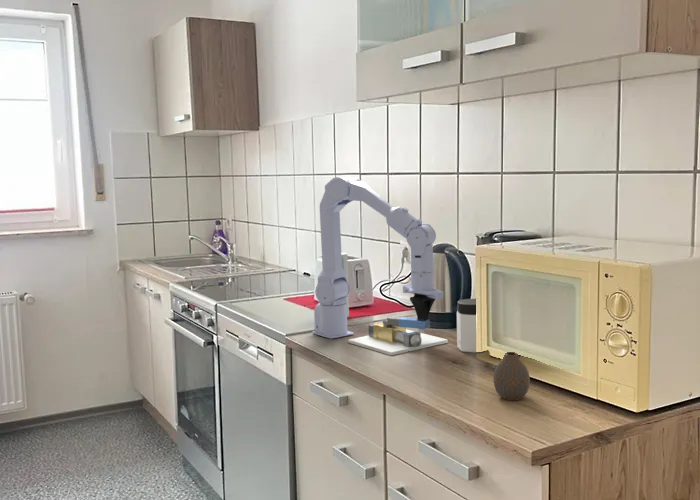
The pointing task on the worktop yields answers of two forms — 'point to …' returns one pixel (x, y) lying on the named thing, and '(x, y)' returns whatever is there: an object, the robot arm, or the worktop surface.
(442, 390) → the worktop surface
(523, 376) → the vase
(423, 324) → the lever
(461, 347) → the jar
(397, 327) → the valve
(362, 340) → the board
